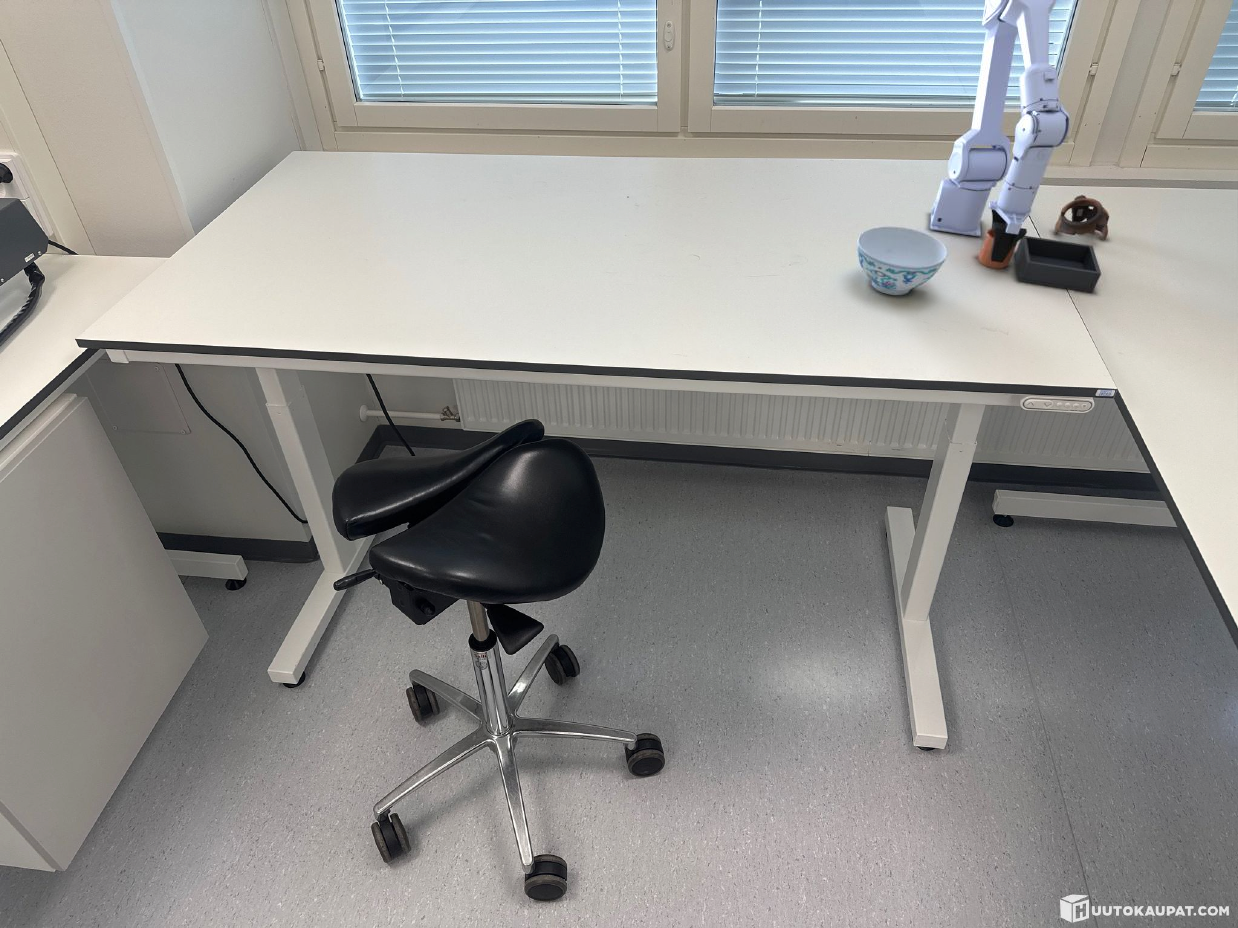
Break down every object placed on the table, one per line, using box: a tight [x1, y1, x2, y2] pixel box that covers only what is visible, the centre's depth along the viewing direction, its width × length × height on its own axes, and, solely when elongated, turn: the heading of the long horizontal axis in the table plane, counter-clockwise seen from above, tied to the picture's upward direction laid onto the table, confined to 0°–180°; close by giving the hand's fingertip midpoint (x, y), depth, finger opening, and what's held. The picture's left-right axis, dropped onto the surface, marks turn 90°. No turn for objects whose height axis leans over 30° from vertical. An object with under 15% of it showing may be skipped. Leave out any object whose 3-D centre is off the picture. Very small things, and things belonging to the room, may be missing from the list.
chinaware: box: [856, 226, 948, 296], centre depth 140 cm, size 15×15×8 cm
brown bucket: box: [977, 228, 1018, 269], centre depth 149 cm, size 6×6×6 cm
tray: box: [1014, 235, 1102, 294], centre depth 147 cm, size 12×11×4 cm
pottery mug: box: [1054, 194, 1110, 241], centre depth 159 cm, size 12×10×8 cm
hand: (995, 253), depth 150 cm, fingers closed on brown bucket, 5 cm apart
